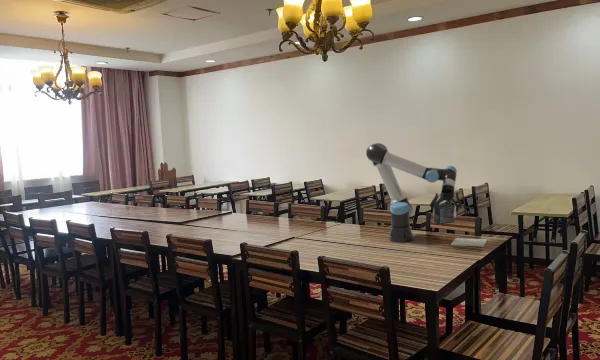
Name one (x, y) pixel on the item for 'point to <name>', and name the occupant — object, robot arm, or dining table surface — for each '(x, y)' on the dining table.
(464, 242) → the mat
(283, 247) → the dining table surface
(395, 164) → the robot arm
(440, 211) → the small box
